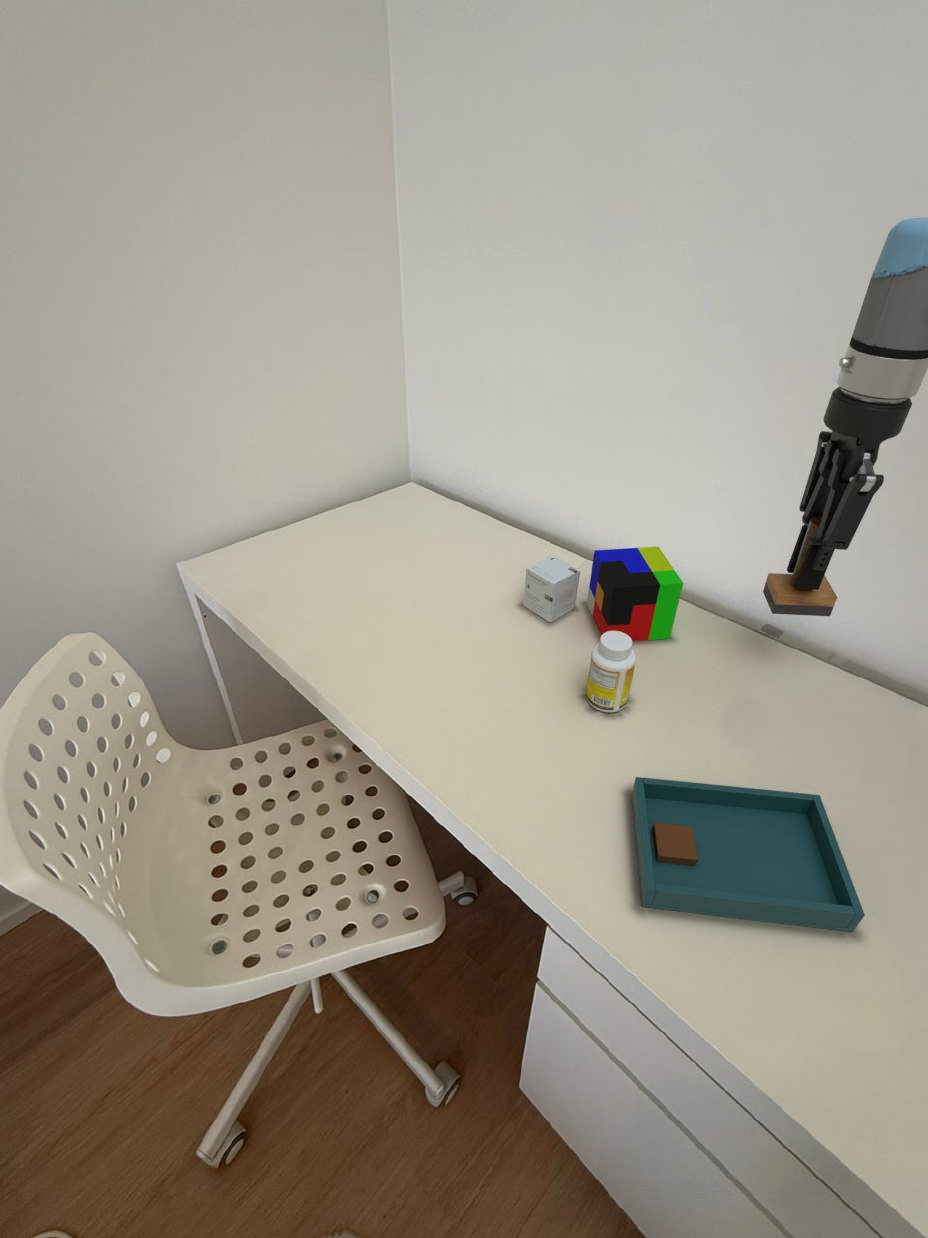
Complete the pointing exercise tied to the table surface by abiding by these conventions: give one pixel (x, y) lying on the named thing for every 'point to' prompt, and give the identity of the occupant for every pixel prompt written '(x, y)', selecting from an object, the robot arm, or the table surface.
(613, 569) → the puzzle toy
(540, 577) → the white cardboard box
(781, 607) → the wooden rubber stamp
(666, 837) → the brown square tile
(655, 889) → the tray
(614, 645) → the supplement bottle
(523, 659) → the table surface
